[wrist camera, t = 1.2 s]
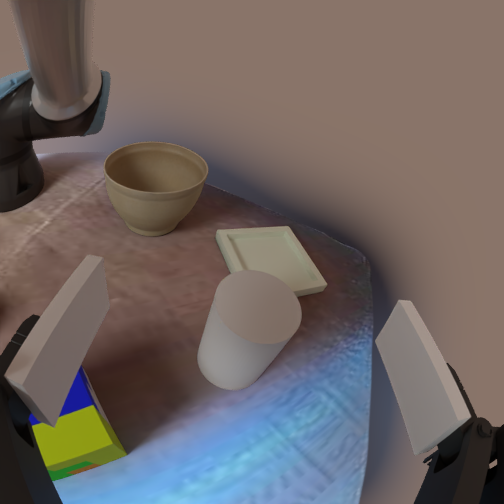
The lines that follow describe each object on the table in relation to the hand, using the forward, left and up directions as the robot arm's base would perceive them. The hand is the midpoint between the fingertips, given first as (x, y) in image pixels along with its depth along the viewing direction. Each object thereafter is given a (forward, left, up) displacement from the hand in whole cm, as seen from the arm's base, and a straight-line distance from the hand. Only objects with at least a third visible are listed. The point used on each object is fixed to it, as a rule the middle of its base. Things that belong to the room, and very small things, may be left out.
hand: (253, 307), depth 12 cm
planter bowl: (-33, +2, -23) cm, 41 cm away
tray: (-20, +19, -23) cm, 36 cm away
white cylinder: (-6, +7, -23) cm, 25 cm away
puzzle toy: (-1, -14, -23) cm, 27 cm away
